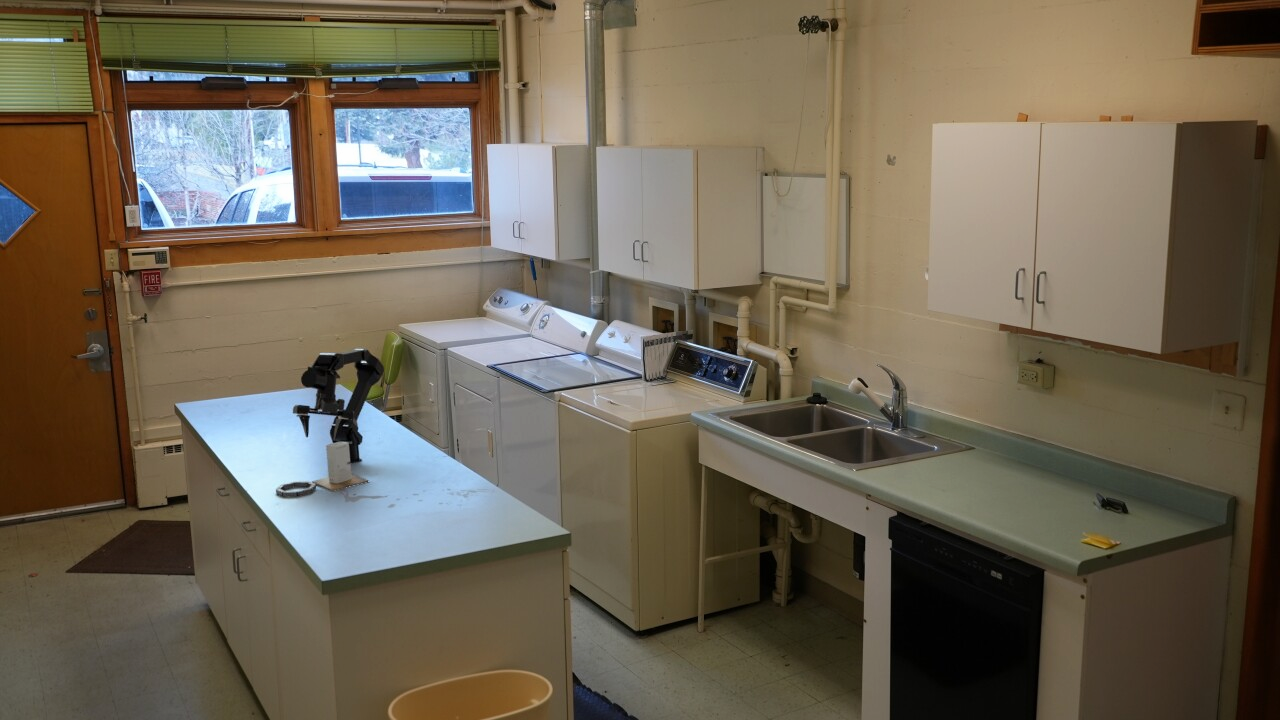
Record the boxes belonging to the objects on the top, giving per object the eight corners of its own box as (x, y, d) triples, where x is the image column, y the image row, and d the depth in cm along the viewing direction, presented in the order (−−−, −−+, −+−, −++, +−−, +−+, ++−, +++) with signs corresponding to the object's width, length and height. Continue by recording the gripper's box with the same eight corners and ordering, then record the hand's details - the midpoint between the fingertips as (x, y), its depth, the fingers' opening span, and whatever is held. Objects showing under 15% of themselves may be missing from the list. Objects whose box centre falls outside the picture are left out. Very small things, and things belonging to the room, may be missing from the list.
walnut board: (348, 474, 362) (348, 472, 361) (369, 482, 352) (368, 480, 352) (311, 483, 353) (311, 481, 353) (331, 491, 344) (331, 489, 343)
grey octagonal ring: (304, 483, 352) (304, 479, 352) (321, 490, 344) (321, 486, 344) (271, 491, 345) (270, 487, 345) (287, 499, 337) (287, 494, 337)
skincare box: (338, 484, 349) (335, 447, 347) (328, 482, 351) (325, 445, 349) (352, 478, 354) (349, 442, 352) (342, 477, 356) (339, 440, 354)
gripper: (304, 386, 350) (298, 436, 349) (361, 393, 360) (356, 441, 358) (294, 388, 360) (289, 436, 358) (351, 394, 370) (346, 440, 368)
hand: (321, 438), depth 360 cm, fingers open, 9 cm apart
